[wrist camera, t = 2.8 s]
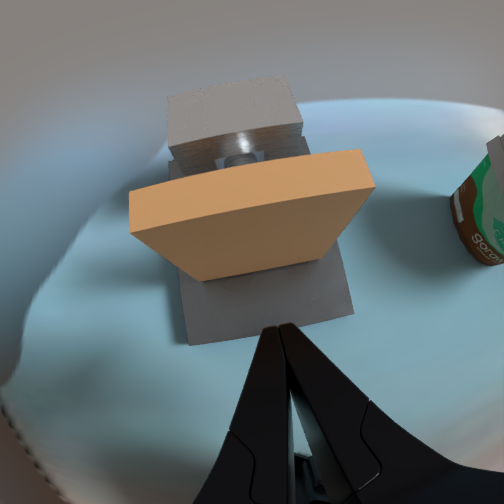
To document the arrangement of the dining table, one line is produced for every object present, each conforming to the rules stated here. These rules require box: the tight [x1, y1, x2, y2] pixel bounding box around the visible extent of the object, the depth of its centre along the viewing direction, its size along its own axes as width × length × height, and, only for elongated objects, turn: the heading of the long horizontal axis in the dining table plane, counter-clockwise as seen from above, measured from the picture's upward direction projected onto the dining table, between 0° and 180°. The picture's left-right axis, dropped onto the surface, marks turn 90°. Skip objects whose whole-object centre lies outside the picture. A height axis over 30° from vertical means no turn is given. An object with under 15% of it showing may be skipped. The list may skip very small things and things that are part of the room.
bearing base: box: [167, 75, 354, 346], centre depth 17 cm, size 14×11×8 cm
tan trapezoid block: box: [129, 149, 375, 282], centre depth 14 cm, size 6×8×10 cm
